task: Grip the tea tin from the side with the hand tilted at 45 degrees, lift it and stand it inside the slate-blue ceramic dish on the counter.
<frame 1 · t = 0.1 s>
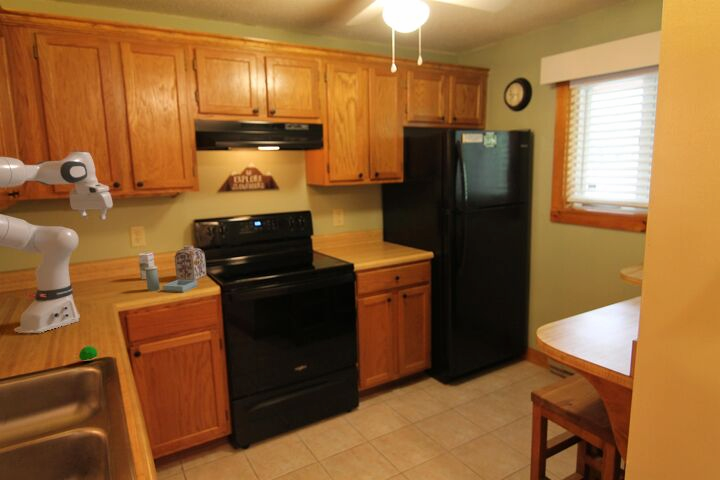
hand: (94, 219, 199), 39 cm above the worktop, tool pointing down, fingers open, 8 cm apart
tea tin: (153, 289, 227), on the worktop
decorative jar: (192, 278, 249), on the worktop
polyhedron: (89, 361, 143), on the worktop
dish: (180, 288, 227), on the worktop
syrup box: (148, 279, 250), on the worktop
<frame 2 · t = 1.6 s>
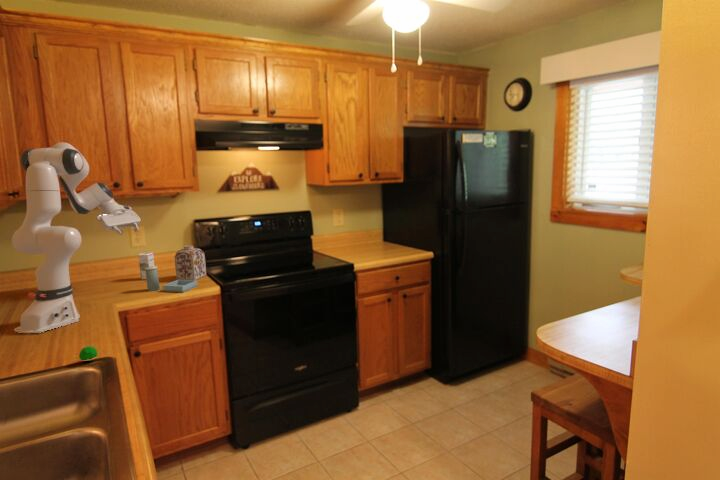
hand: (129, 232, 227), 29 cm above the worktop, tool tilted 45°, fingers open, 8 cm apart
nothing on the worktop moved.
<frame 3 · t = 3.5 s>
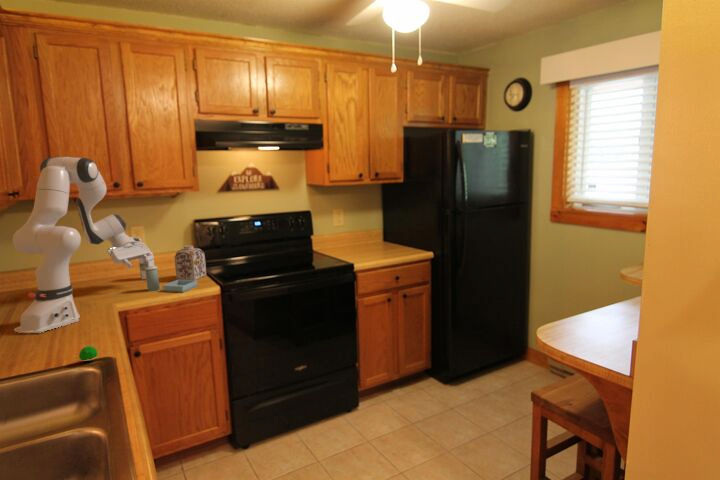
hand: (139, 264, 228), 12 cm above the worktop, tool tilted 45°, fingers open, 8 cm apart
nothing on the worktop moved.
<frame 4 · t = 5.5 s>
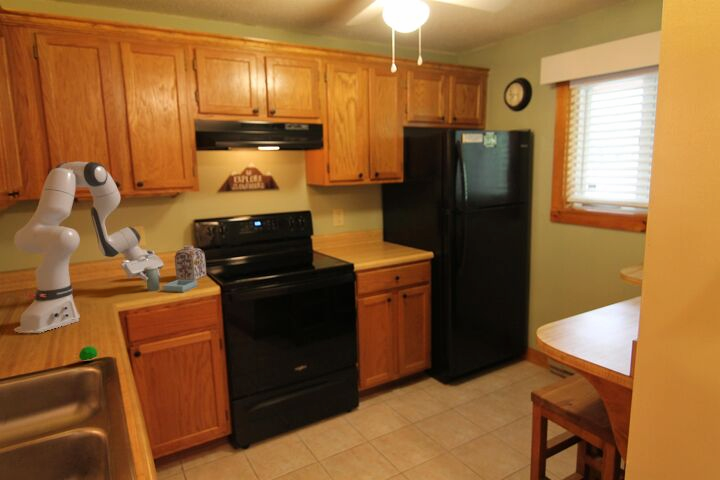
hand: (153, 278, 225), 6 cm above the worktop, tool tilted 45°, fingers closed on tea tin, 5 cm apart
tea tin: (153, 289, 227), on the worktop, touching gripper
everything else where it was.
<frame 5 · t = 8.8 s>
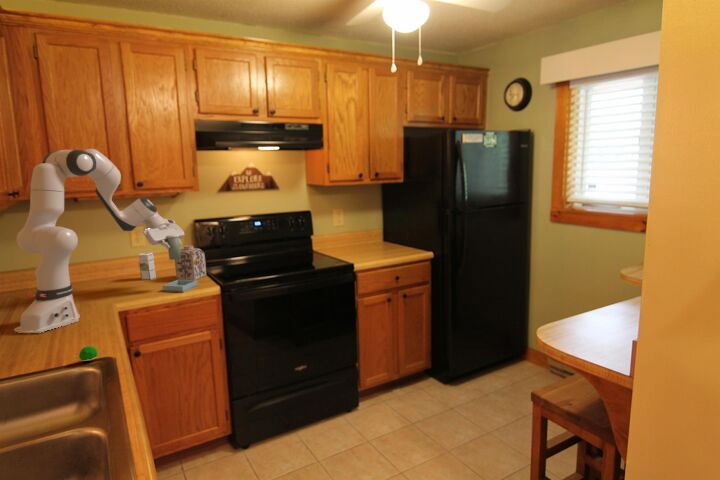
hand: (175, 246, 223), 22 cm above the worktop, tool tilted 45°, fingers closed on tea tin, 5 cm apart
tea tin: (175, 258, 224), point 16 cm above the worktop, touching gripper
everything else where it was.
when the fingers open (8 cm above the worktop, at t = 11.9 s): tea tin drops 1 cm, resting on dish.
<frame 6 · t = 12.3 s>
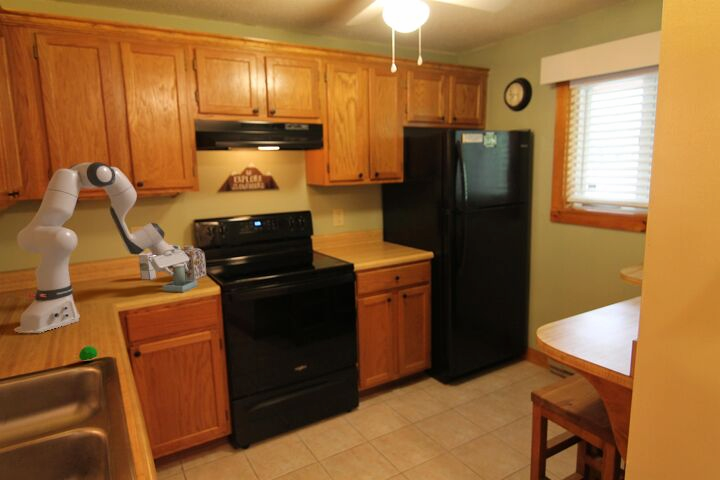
hand: (180, 272, 225), 8 cm above the worktop, tool tilted 45°, fingers open, 8 cm apart
tea tin: (180, 287, 227), point 1 cm above the worktop, touching dish
everything else where it was.
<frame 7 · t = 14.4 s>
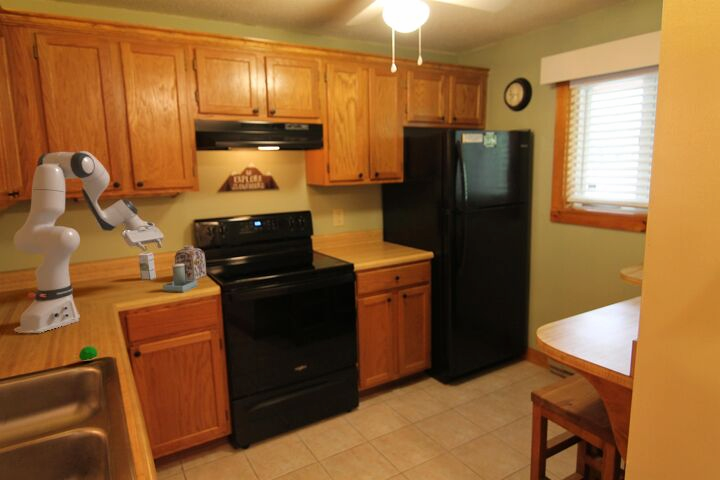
hand: (153, 248, 227), 20 cm above the worktop, tool tilted 45°, fingers open, 8 cm apart
nothing on the worktop moved.
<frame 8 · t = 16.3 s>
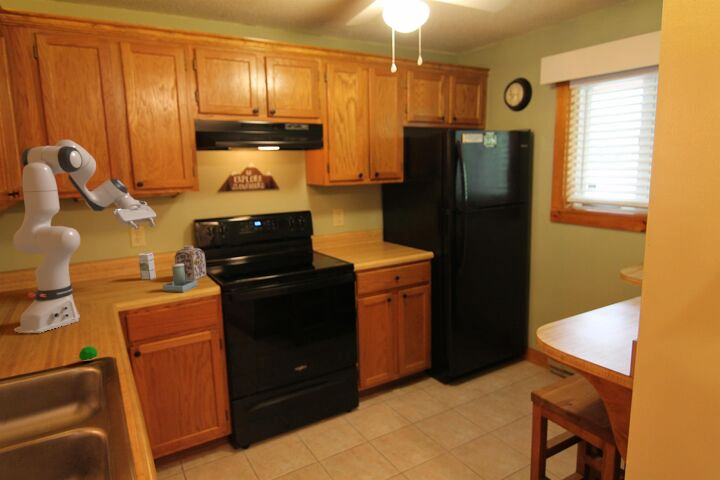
hand: (145, 227, 225), 31 cm above the worktop, tool tilted 45°, fingers open, 8 cm apart
nothing on the worktop moved.
at the end: tea tin inside the target area on the dish (0.0 cm from its centre), point 0.8 cm above the dish's base; tea tin tilted 1°; the gripper is holding nothing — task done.
